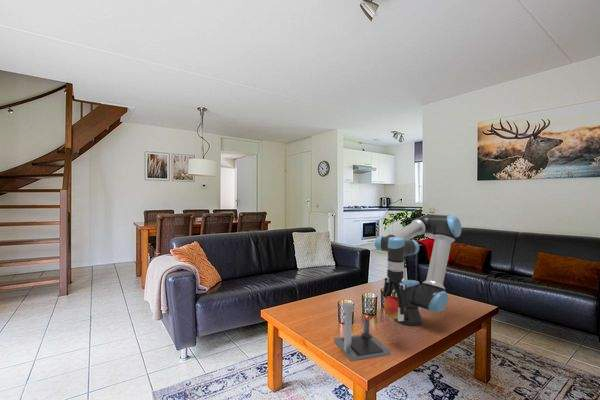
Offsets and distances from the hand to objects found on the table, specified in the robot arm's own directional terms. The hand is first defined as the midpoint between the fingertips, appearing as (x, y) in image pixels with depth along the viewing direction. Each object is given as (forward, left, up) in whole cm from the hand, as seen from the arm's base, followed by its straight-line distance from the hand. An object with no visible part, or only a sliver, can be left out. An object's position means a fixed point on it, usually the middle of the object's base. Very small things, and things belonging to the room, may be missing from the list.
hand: (394, 316), depth 142 cm
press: (+16, -3, -15) cm, 22 cm away
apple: (0, 0, -1) cm, 1 cm away
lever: (+10, -9, -13) cm, 18 cm away
